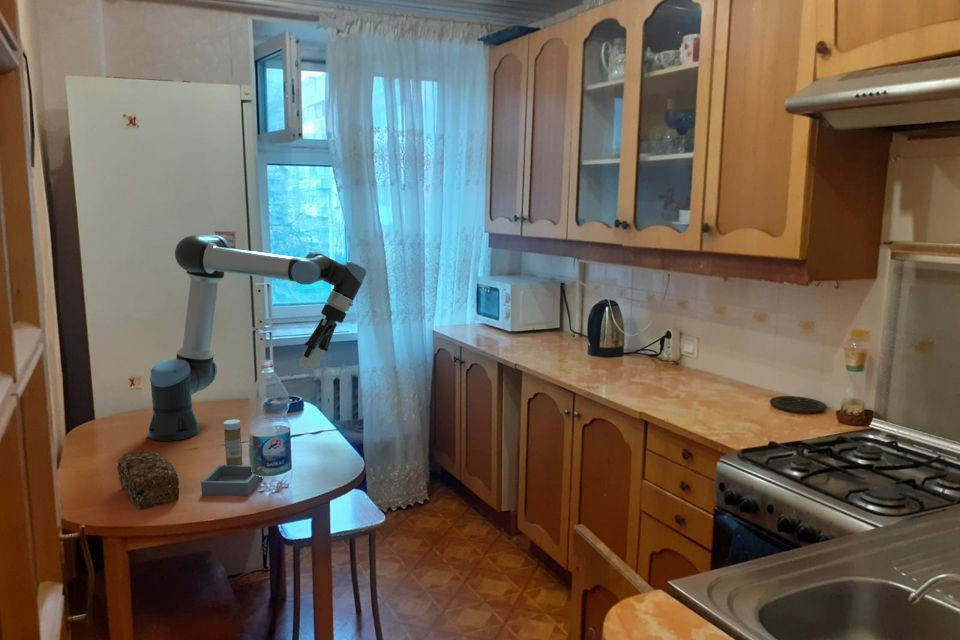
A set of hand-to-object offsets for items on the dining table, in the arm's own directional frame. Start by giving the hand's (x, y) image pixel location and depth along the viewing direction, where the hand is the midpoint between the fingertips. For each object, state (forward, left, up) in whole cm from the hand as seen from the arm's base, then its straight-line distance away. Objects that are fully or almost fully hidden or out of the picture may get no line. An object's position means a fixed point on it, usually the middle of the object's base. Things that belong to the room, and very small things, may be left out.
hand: (306, 366), depth 225 cm
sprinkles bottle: (-14, -30, -23) cm, 40 cm away
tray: (-9, -44, -22) cm, 50 cm away
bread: (-28, -50, -23) cm, 62 cm away
